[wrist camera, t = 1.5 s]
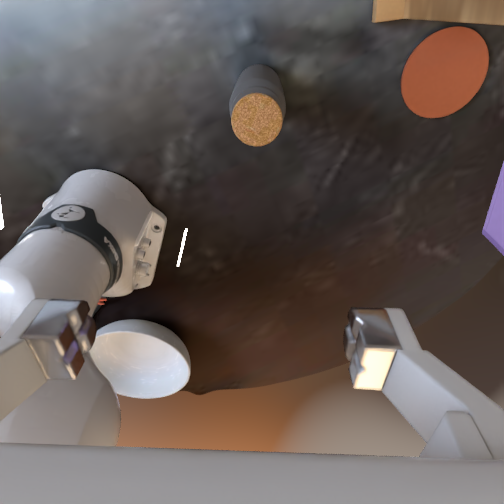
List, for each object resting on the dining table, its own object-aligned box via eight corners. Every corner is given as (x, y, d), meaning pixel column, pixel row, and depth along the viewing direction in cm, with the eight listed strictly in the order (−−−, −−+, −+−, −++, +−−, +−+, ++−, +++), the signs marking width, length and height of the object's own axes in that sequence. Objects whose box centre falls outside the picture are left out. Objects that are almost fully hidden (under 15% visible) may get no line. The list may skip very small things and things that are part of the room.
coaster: (461, 122, 46) (463, 123, 45) (388, 111, 45) (389, 111, 45) (504, 34, 40) (506, 34, 40) (420, 19, 39) (422, 19, 39)
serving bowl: (104, 369, 78) (92, 397, 72) (84, 301, 66) (67, 328, 60) (197, 374, 78) (192, 402, 73) (193, 307, 66) (187, 335, 61)
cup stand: (448, 91, 43) (742, 222, 17) (366, 101, 44) (523, 240, 18) (487, -118, 33) (1444, -662, 6) (379, -100, 34) (813, -505, 7)
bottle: (291, 86, 44) (302, 116, 31) (261, 123, 46) (260, 164, 34) (255, 52, 42) (252, 70, 29) (226, 92, 44) (212, 124, 32)
